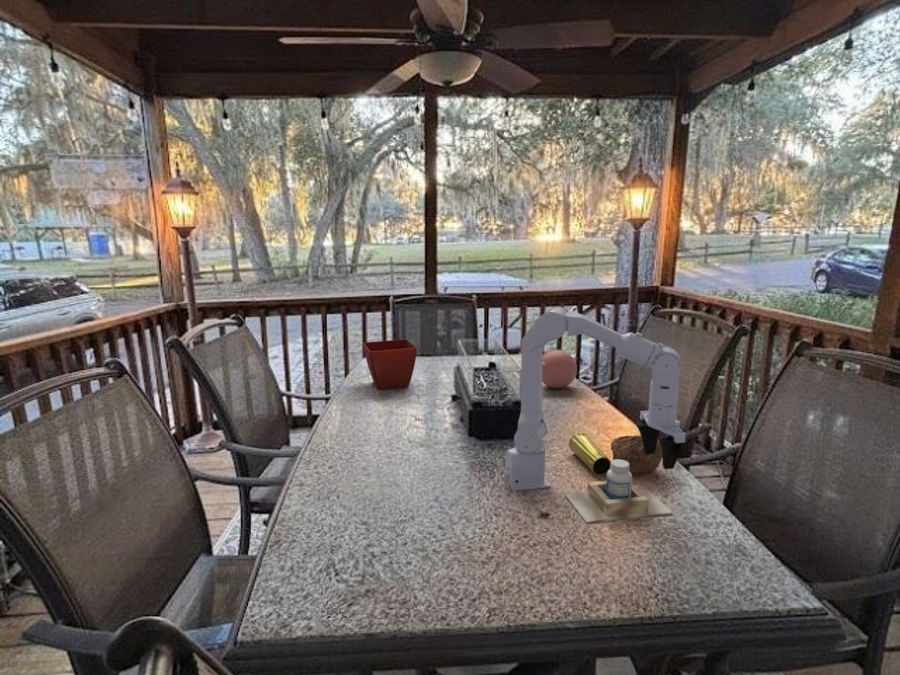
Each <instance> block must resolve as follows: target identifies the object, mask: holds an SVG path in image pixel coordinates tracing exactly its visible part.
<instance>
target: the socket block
mask: <svg viewBox="0 0 900 675" xmlns="http://www.w3.org/2000/svg"><path fill="white" fill-rule="evenodd" d="M606 486H607V480H602V481H600V480H599V481H591V482H587V491H582V492H581V491H580V492H572V493H570V492H569V493H564V496H565V497H566V499H567V500H568V502H569V503H570V504H571V506H572V507H573V508H574V509H575V511H576V512H577V513H578V514H579V516H580V517H581V519H582V520H583V521H584V522H585V524H591V523H592V524H594V523H602V522H610V521H612V522H613V521H619V520H621V521H622V520H630V519H638V518H641V519H642V518H649V517H657V516H658V517H659V516H669V515H673V511H671V510H670V509H669V508H668V507H667V506H666V505H665V504H664V503H663V502H661V500H659V499H658V497H656V496H655V495H653V494H652V493H651V492H650V491H649V490H648V489H647V488H646V487H645V486H635V485H634V484H633V483H632V489H631V498H622V499H612V500H610V499H609V498H608V497H607V495H606Z"/></svg>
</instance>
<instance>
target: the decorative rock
mask: <svg viewBox="0 0 900 675" xmlns="http://www.w3.org/2000/svg"><path fill="white" fill-rule="evenodd" d="M610 450H611V451H612V460H615V459H620V460H625V461H627V462H628V463H629V472H630V473H631V474H632V475H636V476H637V475H644V474H645V473H647V474H652V473H655V471H656V470H657V469H658V467H659V465H660V463H661V461H662V460H663V455H662V448H661V444H660V442H659V438H658V439H657V445H656V450H655V453H654V454H645V452H644V447H643V442H642V437H641V434H640V435H624V436H619V437H617V438H614V439H612V442H611V443H610Z"/></svg>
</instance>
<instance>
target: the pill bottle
mask: <svg viewBox="0 0 900 675" xmlns="http://www.w3.org/2000/svg"><path fill="white" fill-rule="evenodd" d="M610 461H611V465H610V467H611V469H610V470H608V472H607V474H606V481H607V486H606V495H607V497H608V498H609V499H610V500H612V499H622V498H631V489H632V484H633V474H631V473H630V472H629V463H628V462H627V461H625V460H620V459H615V460H613V459H612V460H610Z"/></svg>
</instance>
